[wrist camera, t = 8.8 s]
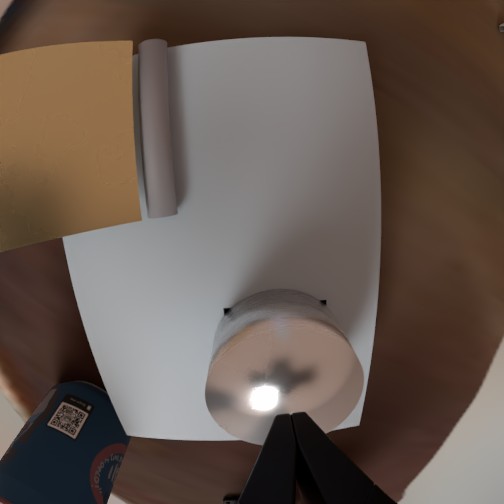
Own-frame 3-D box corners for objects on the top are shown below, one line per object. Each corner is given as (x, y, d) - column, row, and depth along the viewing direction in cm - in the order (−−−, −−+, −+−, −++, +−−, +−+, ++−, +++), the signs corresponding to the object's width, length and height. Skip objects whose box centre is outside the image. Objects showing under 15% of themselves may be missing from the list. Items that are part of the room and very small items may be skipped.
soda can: (132, 448, 20) (94, 565, 8) (58, 416, 19) (0, 516, 8) (139, 395, 18) (83, 544, 7) (53, 358, 18) (-36, 471, 6)
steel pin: (315, 335, 17) (354, 435, 9) (227, 342, 17) (217, 449, 9) (315, 250, 16) (372, 319, 8) (217, 257, 16) (191, 336, 8)
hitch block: (336, 370, 18) (364, 438, 12) (149, 381, 18) (122, 448, 12) (331, 76, 13) (374, 31, 8) (103, 101, 13) (39, 75, 8)
